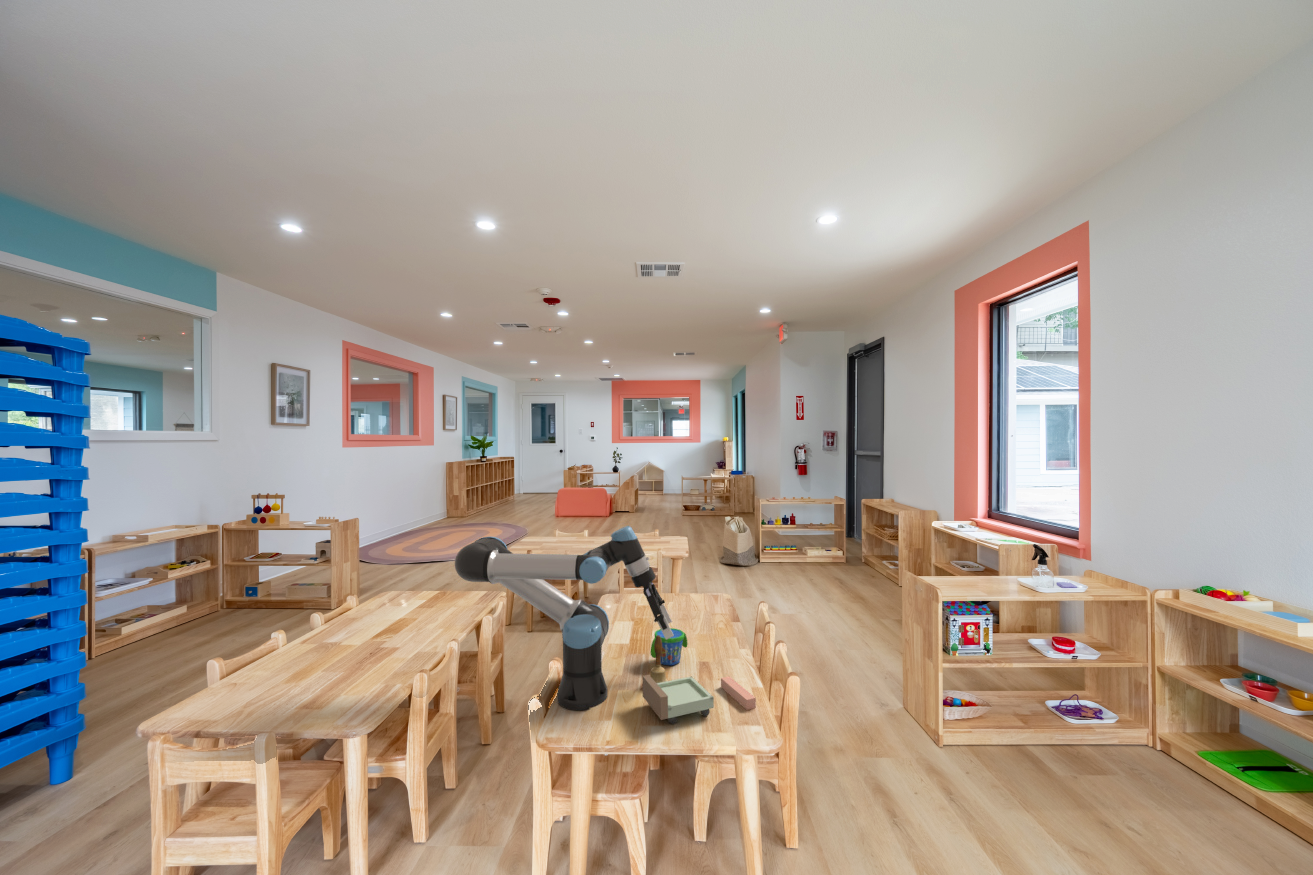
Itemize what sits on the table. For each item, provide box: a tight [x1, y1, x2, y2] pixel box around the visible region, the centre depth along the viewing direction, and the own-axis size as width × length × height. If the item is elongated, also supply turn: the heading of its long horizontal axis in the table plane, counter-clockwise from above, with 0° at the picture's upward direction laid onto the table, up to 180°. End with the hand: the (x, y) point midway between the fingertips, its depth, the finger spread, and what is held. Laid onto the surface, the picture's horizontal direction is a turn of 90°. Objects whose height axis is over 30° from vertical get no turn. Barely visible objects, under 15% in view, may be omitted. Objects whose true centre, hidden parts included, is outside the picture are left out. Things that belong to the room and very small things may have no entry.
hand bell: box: [649, 635, 669, 683], centre depth 164 cm, size 8×8×16 cm
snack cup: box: [650, 627, 688, 666], centre depth 183 cm, size 16×10×10 cm
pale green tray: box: [642, 674, 715, 725], centre depth 148 cm, size 16×14×8 cm
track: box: [720, 675, 757, 711], centre depth 151 cm, size 30×15×3 cm, turn 112°
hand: (669, 630), depth 170 cm, fingers open, 13 cm apart
